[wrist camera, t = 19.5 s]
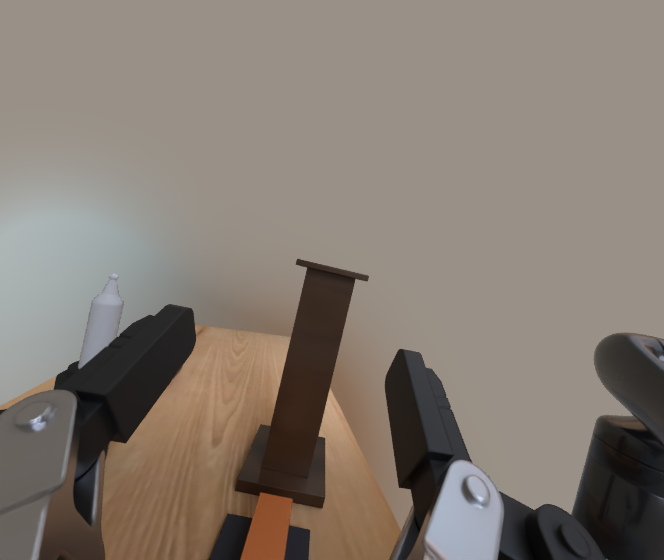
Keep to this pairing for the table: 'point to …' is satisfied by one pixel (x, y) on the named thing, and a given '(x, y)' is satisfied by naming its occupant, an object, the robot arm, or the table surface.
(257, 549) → the lever bar
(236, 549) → the mat
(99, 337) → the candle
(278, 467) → the pedestal
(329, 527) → the table surface
